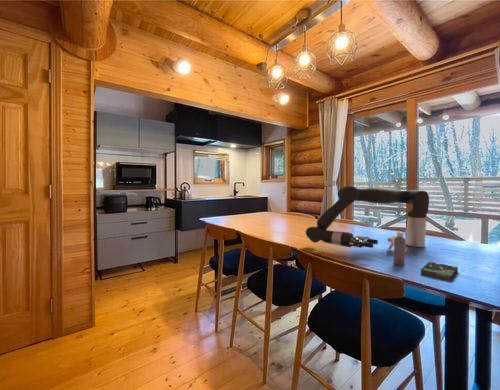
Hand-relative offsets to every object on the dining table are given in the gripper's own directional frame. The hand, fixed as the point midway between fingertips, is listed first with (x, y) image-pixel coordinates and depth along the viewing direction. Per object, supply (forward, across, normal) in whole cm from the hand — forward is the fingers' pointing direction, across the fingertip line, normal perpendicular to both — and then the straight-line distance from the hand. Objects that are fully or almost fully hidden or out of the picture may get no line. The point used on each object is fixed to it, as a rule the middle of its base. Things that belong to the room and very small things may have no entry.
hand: (375, 243), depth 123 cm
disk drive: (+26, -2, +9) cm, 27 cm away
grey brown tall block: (+10, 0, +8) cm, 13 cm away
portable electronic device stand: (+6, +21, +8) cm, 23 cm away
